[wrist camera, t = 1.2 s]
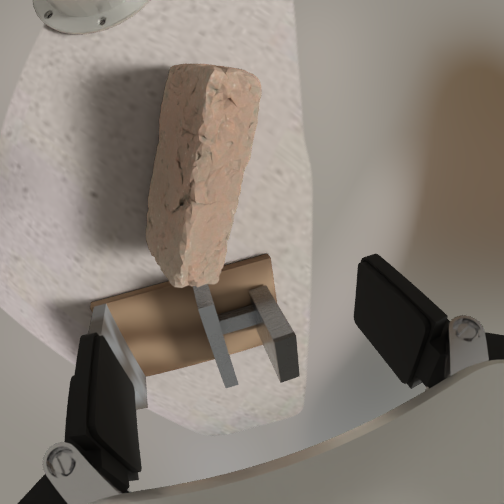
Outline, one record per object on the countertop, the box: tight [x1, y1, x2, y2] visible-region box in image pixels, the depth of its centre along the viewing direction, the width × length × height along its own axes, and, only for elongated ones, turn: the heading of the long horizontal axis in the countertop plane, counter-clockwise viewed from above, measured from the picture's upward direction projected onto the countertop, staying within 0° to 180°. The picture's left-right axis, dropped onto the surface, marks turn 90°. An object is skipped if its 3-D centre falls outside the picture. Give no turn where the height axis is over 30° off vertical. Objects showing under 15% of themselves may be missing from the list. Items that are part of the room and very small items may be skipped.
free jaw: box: [193, 284, 299, 388], centre depth 32 cm, size 12×8×8 cm, turn 9°
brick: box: [146, 64, 261, 288], centre depth 23 cm, size 17×8×5 cm
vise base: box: [88, 254, 277, 410], centre depth 33 cm, size 12×20×6 cm, turn 99°
